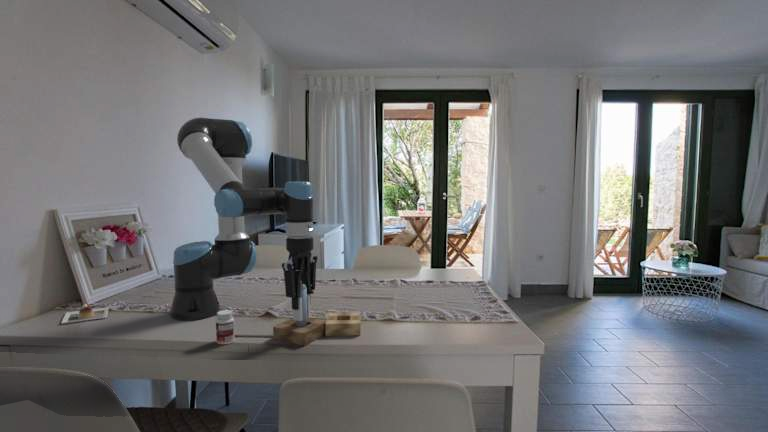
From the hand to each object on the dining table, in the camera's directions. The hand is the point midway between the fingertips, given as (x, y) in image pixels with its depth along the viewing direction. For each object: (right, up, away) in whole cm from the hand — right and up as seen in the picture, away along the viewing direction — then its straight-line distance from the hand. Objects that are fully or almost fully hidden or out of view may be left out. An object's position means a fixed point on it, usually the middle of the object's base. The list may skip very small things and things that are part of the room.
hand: (301, 317), depth 123 cm
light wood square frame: (+11, -5, +6) cm, 14 cm away
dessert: (-74, -4, +17) cm, 76 cm away
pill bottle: (-20, -6, -4) cm, 22 cm away
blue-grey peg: (0, -5, +1) cm, 5 cm away
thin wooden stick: (-15, -5, 0) cm, 16 cm away
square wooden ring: (0, -5, +1) cm, 5 cm away
